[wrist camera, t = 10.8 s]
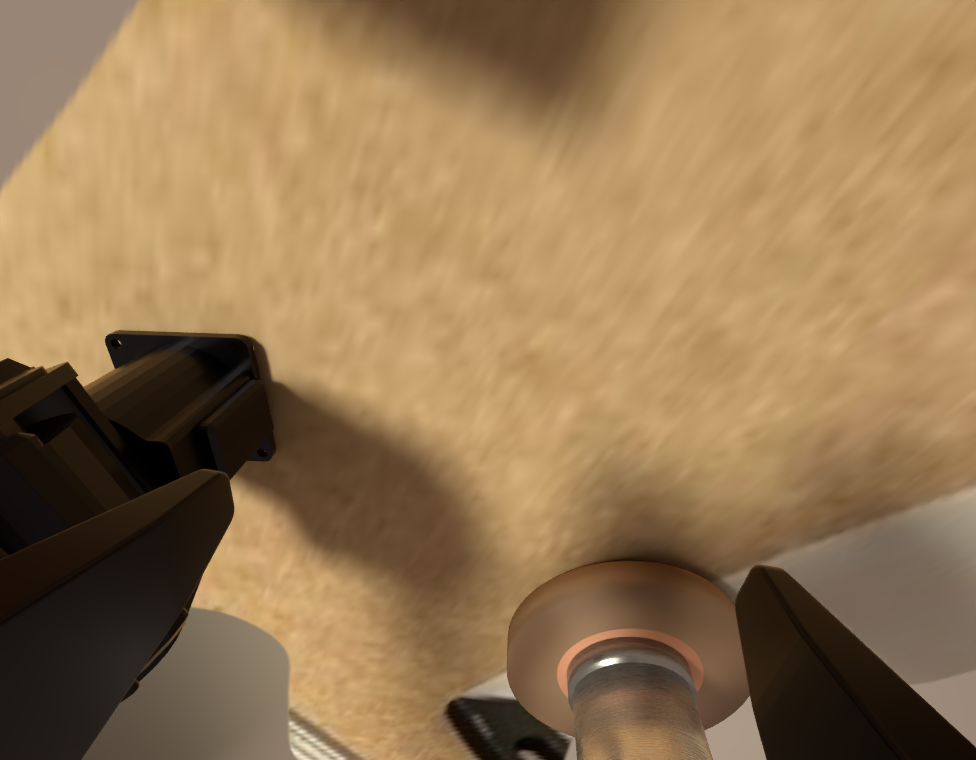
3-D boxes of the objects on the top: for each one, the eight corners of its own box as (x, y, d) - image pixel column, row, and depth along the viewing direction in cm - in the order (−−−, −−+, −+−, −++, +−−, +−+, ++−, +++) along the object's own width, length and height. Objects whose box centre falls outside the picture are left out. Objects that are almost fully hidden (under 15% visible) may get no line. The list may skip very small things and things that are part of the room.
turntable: (505, 688, 32) (504, 736, 29) (511, 539, 26) (509, 582, 23) (710, 703, 31) (726, 754, 29) (764, 553, 25) (790, 600, 23)
